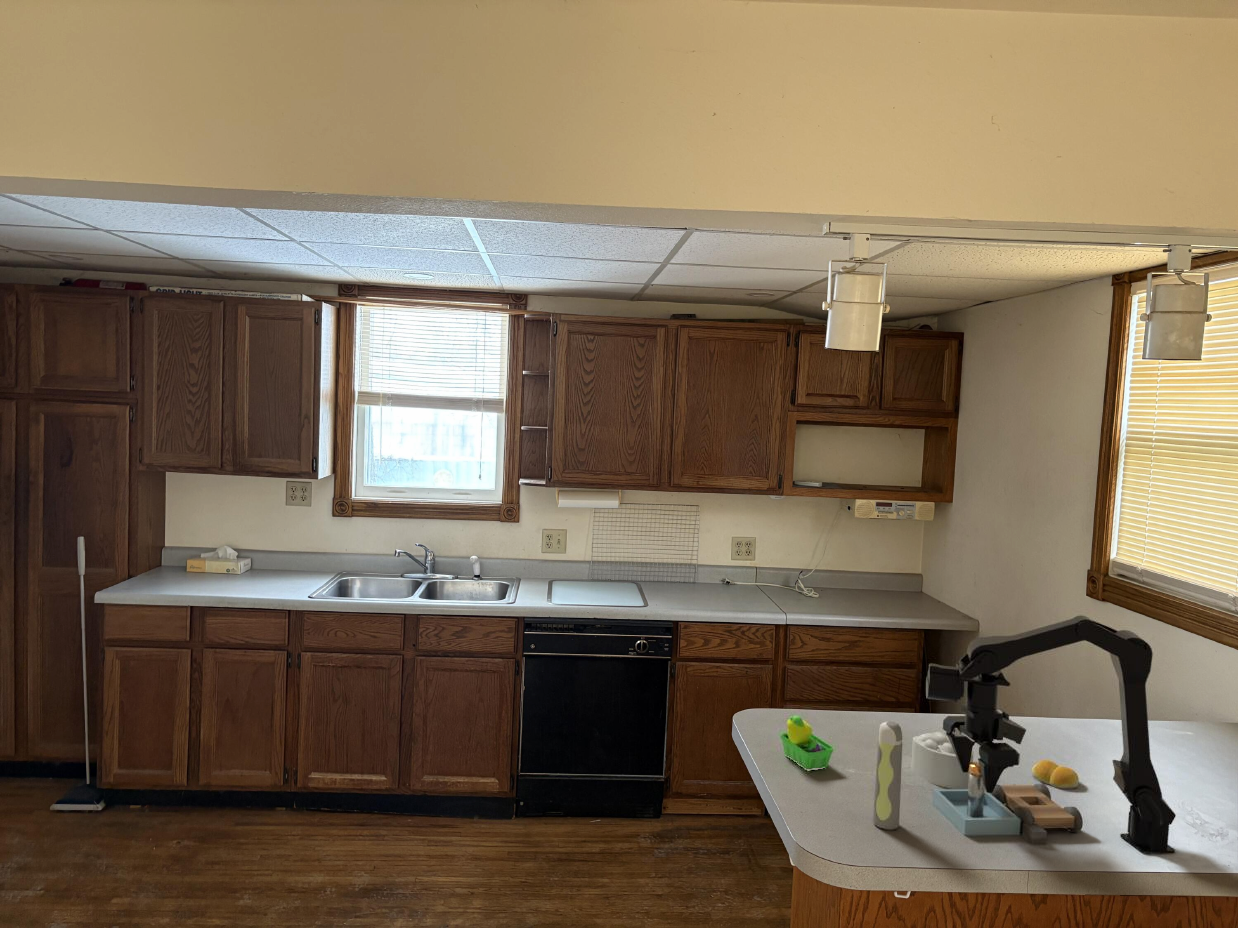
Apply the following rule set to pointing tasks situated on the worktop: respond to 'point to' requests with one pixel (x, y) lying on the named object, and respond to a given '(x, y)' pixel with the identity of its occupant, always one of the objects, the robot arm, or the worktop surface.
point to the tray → (992, 823)
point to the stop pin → (975, 791)
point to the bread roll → (1055, 774)
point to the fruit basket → (805, 745)
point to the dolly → (1037, 810)
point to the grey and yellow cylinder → (888, 776)
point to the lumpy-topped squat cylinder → (938, 761)
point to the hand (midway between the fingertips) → (976, 781)
